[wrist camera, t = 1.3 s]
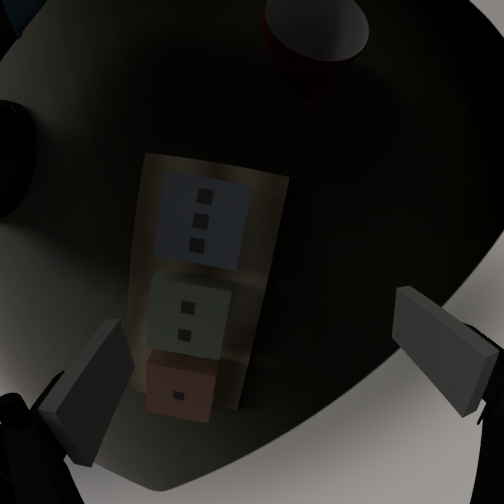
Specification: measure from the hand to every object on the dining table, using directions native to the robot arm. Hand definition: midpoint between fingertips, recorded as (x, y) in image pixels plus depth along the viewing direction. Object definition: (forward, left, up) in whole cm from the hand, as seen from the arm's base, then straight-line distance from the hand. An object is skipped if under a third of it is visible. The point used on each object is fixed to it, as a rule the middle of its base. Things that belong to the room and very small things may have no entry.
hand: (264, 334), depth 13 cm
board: (-5, -6, -17) cm, 19 cm away
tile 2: (-5, -6, -15) cm, 17 cm away
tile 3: (-5, +3, -15) cm, 16 cm away
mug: (+1, +19, -17) cm, 26 cm away
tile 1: (-5, -15, -15) cm, 22 cm away
